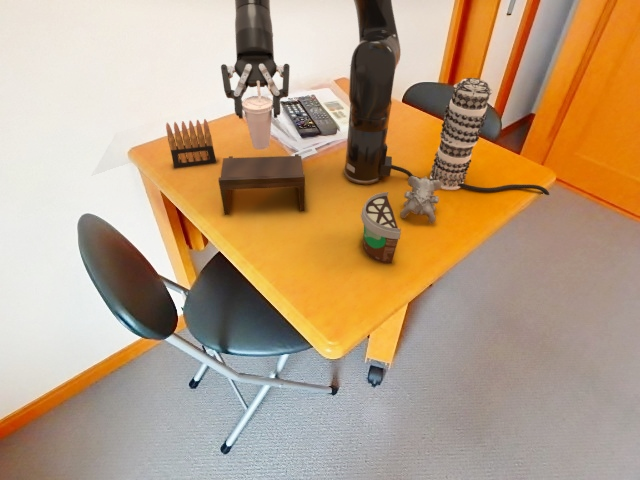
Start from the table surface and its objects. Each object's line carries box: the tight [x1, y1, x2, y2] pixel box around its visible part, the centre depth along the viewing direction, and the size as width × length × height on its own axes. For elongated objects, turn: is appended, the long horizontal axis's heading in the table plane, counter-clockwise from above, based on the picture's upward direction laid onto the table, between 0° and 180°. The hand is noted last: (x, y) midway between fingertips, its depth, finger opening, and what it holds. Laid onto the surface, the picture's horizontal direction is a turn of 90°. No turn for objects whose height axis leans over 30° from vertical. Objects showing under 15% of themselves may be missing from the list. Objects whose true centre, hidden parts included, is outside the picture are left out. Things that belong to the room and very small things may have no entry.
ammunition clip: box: [165, 118, 217, 169], centre depth 100 cm, size 11×2×12 cm, turn 106°
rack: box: [218, 153, 306, 216], centre depth 94 cm, size 18×21×9 cm
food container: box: [360, 191, 402, 264], centre depth 79 cm, size 12×6×10 cm, turn 5°
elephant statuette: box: [399, 175, 442, 224], centre depth 90 cm, size 9×12×8 cm
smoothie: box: [242, 81, 273, 151], centre depth 82 cm, size 6×6×14 cm
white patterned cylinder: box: [429, 77, 494, 191], centre depth 93 cm, size 9×9×25 cm
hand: (258, 116), depth 80 cm, fingers closed on smoothie, 6 cm apart
